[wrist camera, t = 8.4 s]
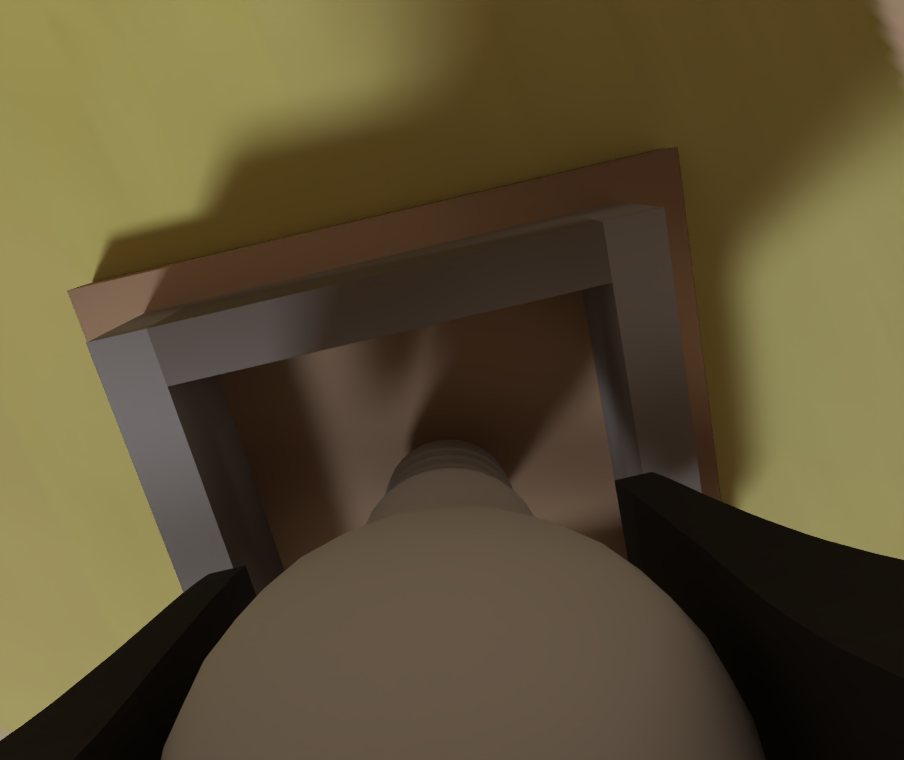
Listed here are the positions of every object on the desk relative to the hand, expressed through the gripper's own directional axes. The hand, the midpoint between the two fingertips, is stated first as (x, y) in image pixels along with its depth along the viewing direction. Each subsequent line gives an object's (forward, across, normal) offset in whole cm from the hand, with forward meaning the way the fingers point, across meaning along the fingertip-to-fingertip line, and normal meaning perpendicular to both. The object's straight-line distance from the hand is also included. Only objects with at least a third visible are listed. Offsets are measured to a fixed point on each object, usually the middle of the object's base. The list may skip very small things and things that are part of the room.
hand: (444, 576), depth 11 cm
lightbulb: (+4, 0, 0) cm, 4 cm away
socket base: (+5, 0, 0) cm, 5 cm away
